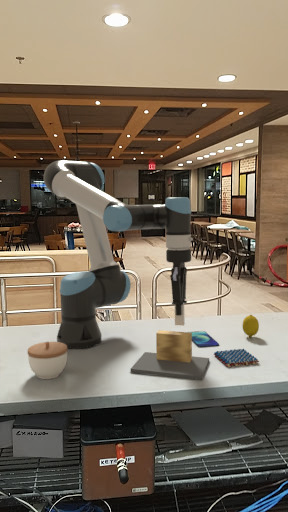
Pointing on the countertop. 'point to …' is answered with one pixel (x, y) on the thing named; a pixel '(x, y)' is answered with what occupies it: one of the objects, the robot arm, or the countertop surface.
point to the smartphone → (203, 339)
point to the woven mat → (236, 357)
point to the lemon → (250, 325)
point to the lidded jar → (47, 359)
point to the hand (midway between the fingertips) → (179, 324)
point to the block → (174, 346)
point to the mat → (171, 367)
